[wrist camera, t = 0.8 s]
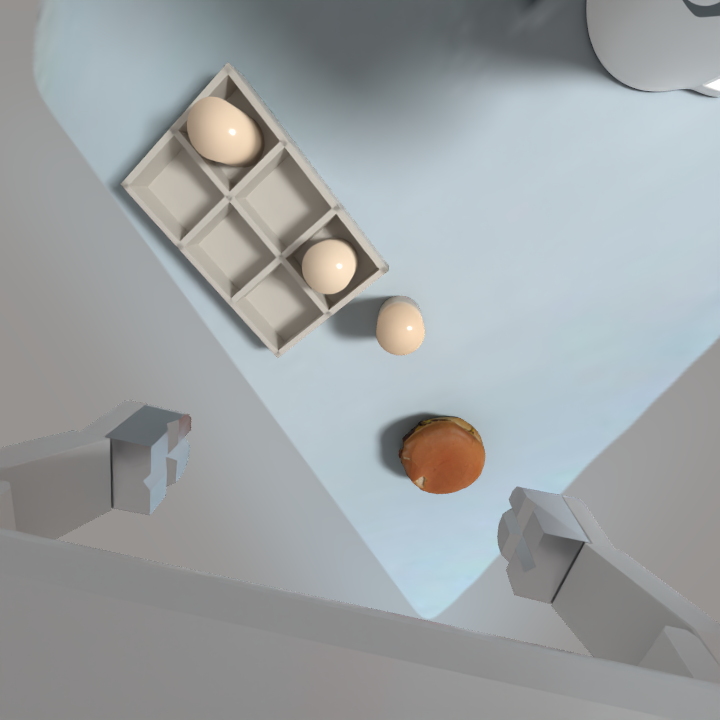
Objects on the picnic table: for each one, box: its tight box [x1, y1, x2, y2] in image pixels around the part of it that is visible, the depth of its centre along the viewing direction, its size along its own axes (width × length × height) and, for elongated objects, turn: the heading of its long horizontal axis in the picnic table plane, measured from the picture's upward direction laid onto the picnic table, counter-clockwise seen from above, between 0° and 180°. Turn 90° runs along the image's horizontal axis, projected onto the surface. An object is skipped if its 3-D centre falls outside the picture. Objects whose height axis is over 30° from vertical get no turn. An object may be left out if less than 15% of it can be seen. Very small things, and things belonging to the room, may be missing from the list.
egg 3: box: [376, 296, 425, 355], centre depth 41 cm, size 5×5×6 cm
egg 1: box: [187, 97, 265, 168], centre depth 35 cm, size 5×5×6 cm
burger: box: [399, 417, 485, 494], centre depth 47 cm, size 10×9×5 cm
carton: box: [121, 63, 389, 358], centre depth 40 cm, size 15×22×4 cm
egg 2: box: [302, 237, 359, 294], centre depth 39 cm, size 5×5×6 cm
